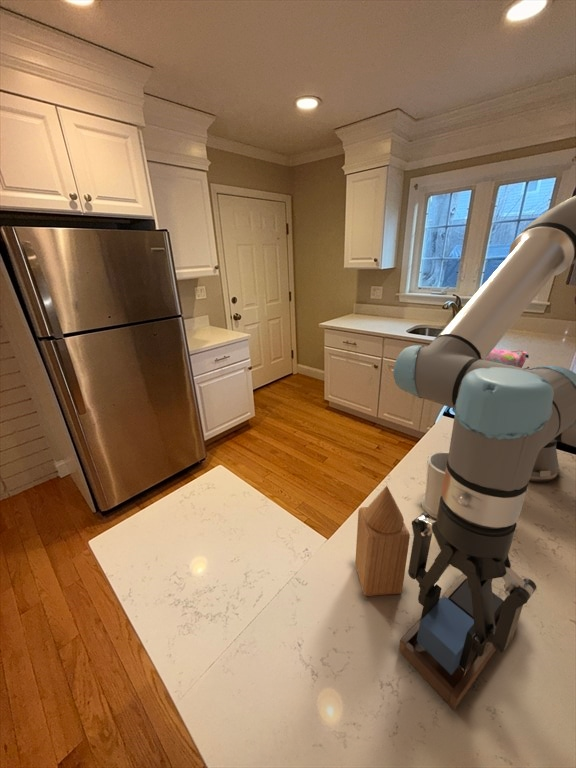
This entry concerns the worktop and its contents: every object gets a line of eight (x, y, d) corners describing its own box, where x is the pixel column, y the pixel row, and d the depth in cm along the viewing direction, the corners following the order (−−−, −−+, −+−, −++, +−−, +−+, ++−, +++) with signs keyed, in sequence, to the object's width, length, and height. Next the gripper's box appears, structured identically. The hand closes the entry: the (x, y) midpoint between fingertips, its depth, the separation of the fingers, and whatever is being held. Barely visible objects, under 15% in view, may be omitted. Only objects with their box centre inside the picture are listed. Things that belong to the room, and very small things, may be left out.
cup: (459, 494, 75) (468, 450, 71) (481, 523, 67) (492, 476, 62) (414, 495, 75) (420, 451, 71) (431, 525, 67) (439, 477, 63)
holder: (461, 581, 55) (463, 572, 54) (515, 621, 49) (518, 611, 48) (398, 649, 46) (399, 640, 45) (454, 710, 40) (457, 700, 39)
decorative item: (364, 598, 53) (371, 501, 46) (354, 562, 59) (359, 473, 52) (403, 595, 53) (417, 498, 46) (389, 560, 59) (399, 470, 52)
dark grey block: (465, 593, 53) (470, 575, 51) (498, 618, 49) (504, 600, 48) (446, 615, 50) (449, 597, 48) (479, 644, 46) (484, 626, 44)
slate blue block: (440, 614, 48) (444, 595, 46) (474, 644, 44) (480, 624, 42) (416, 640, 44) (419, 621, 43) (451, 675, 40) (456, 655, 39)
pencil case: (526, 366, 157) (530, 348, 154) (520, 371, 152) (524, 353, 149) (480, 359, 173) (482, 342, 170) (472, 363, 168) (475, 346, 165)
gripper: (389, 478, 41) (376, 604, 49) (566, 586, 27) (506, 736, 35) (423, 457, 45) (406, 577, 53) (593, 542, 31) (533, 685, 39)
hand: (446, 640), depth 44 cm, fingers closed on slate blue block, 5 cm apart
